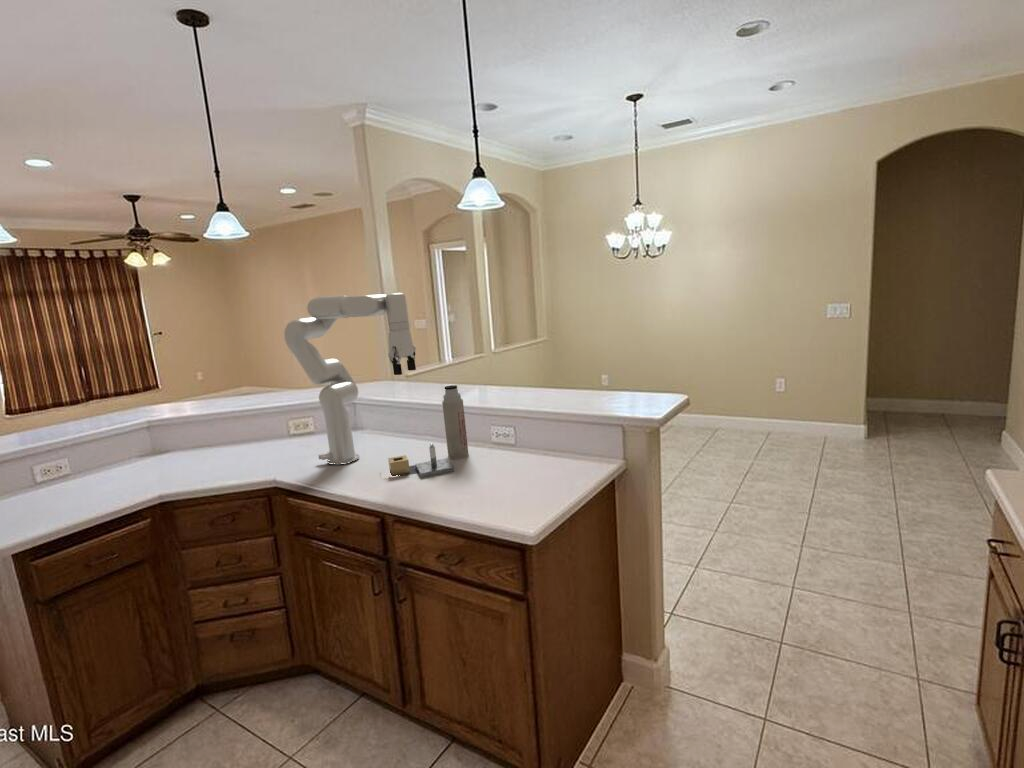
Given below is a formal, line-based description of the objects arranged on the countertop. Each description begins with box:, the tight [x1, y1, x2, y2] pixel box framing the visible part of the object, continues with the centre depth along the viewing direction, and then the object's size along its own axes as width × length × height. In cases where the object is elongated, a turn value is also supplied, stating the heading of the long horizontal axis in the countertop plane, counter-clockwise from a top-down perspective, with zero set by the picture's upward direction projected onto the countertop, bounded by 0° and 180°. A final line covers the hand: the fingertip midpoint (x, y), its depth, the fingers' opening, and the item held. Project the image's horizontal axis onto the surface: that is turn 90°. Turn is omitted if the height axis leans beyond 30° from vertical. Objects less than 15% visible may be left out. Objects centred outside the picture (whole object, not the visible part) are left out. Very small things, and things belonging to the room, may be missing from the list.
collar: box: [387, 454, 410, 476], centre depth 194 cm, size 6×6×5 cm
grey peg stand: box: [414, 443, 455, 479], centre depth 193 cm, size 12×12×10 cm
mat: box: [398, 464, 419, 478], centre depth 194 cm, size 14×10×1 cm
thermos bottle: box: [441, 384, 469, 459], centre depth 207 cm, size 8×8×28 cm
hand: (405, 372), depth 199 cm, fingers open, 9 cm apart
